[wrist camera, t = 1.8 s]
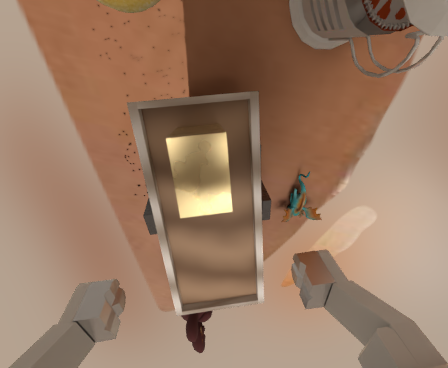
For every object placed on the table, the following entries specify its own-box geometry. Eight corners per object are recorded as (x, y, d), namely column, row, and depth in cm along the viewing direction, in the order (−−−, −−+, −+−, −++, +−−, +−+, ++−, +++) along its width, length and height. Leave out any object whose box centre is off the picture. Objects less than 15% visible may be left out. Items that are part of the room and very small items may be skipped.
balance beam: (137, 102, 21) (126, 102, 18) (250, 92, 22) (258, 90, 19) (179, 294, 31) (176, 316, 28) (257, 283, 31) (264, 302, 28)
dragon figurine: (272, 170, 37) (273, 215, 38) (286, 172, 30) (287, 228, 31) (308, 168, 37) (309, 213, 38) (332, 170, 30) (332, 225, 31)
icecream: (217, 264, 44) (227, 351, 32) (182, 272, 44) (178, 362, 32) (210, 242, 40) (217, 331, 28) (172, 250, 40) (162, 343, 28)
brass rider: (177, 127, 20) (165, 138, 14) (218, 123, 21) (226, 132, 14) (186, 185, 23) (180, 218, 16) (223, 181, 23) (232, 211, 16)
